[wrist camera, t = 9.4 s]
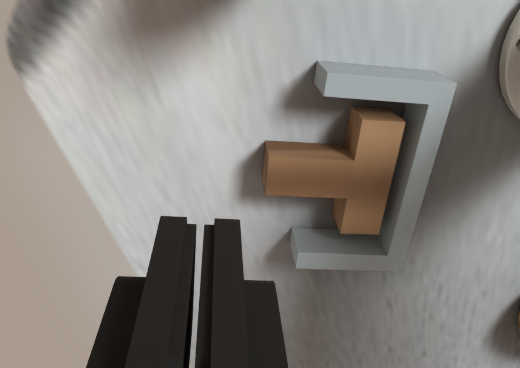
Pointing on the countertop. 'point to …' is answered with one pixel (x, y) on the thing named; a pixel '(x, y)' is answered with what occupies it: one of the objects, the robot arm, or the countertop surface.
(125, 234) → the countertop surface
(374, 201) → the T block
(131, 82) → the countertop surface
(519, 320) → the bread roll
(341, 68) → the pocket
